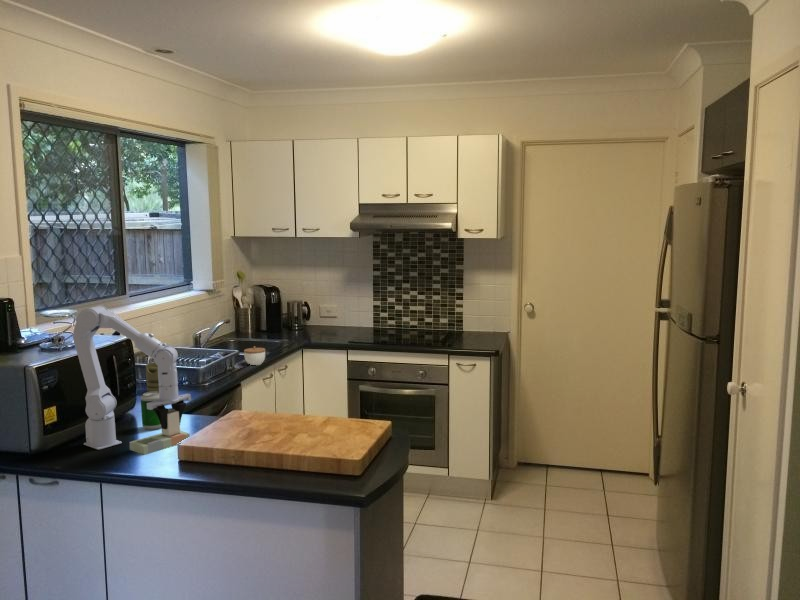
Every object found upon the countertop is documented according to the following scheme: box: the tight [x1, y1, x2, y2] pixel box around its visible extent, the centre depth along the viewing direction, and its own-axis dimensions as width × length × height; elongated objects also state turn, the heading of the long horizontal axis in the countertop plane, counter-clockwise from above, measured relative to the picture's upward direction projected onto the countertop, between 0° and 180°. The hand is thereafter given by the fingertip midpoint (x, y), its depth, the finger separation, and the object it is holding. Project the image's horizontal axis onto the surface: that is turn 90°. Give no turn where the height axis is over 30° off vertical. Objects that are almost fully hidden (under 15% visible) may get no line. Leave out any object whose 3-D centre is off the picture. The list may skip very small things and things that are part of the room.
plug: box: [160, 407, 181, 436], centre depth 213 cm, size 4×4×8 cm
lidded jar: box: [243, 345, 266, 366], centre depth 339 cm, size 11×11×9 cm
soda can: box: [140, 391, 166, 431], centre depth 230 cm, size 8×8×12 cm
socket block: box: [129, 430, 191, 455], centre depth 210 cm, size 8×16×3 cm, turn 141°
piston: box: [145, 361, 159, 393], centre depth 284 cm, size 11×12×11 cm
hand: (170, 426), depth 213 cm, fingers closed on plug, 4 cm apart
